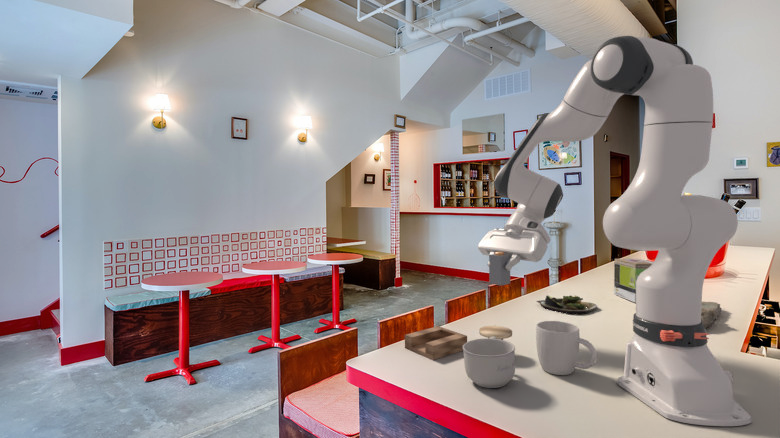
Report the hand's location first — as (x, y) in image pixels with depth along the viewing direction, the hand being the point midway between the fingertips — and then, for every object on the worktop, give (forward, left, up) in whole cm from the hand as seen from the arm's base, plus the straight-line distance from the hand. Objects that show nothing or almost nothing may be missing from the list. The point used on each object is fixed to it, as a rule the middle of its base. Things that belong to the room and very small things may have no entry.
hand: (498, 267), depth 115 cm
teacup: (-26, +5, -20) cm, 34 cm away
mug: (-21, -12, -20) cm, 32 cm away
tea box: (+51, -59, -20) cm, 80 cm away
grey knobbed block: (+1, 0, -4) cm, 4 cm away
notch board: (-8, +17, -20) cm, 28 cm away
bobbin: (-11, +2, -20) cm, 23 cm away
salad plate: (+36, -29, -20) cm, 50 cm away
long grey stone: (+23, -65, -20) cm, 72 cm away
